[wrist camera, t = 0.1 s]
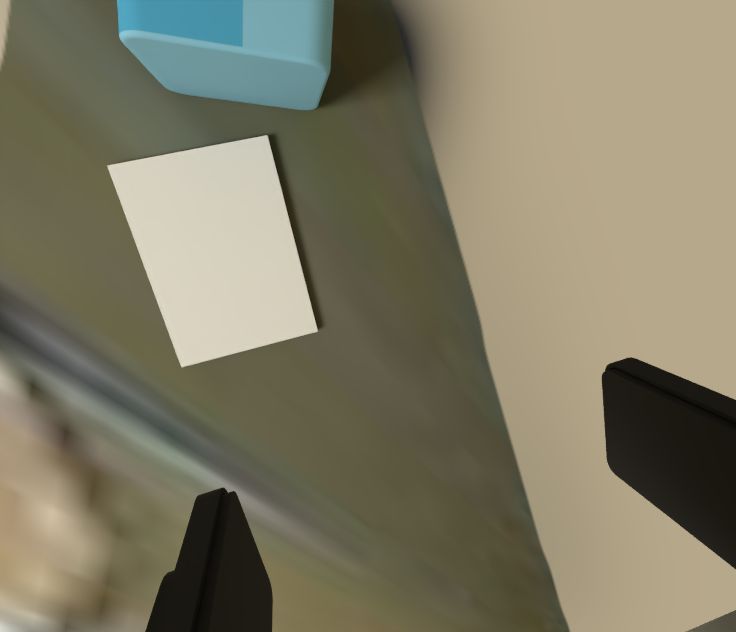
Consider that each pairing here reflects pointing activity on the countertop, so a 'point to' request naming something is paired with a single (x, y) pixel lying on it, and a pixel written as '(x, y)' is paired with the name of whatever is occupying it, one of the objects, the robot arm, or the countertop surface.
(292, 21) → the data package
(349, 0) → the countertop surface
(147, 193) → the mat
